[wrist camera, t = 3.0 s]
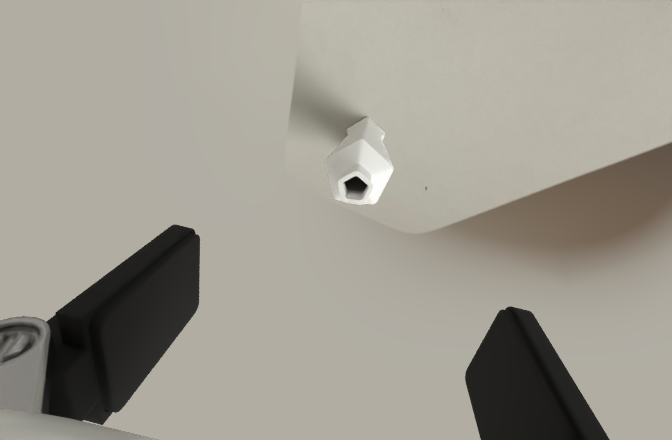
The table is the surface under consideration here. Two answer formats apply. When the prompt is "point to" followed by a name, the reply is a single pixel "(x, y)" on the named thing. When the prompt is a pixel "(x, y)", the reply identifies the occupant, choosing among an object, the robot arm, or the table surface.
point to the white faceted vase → (359, 165)
